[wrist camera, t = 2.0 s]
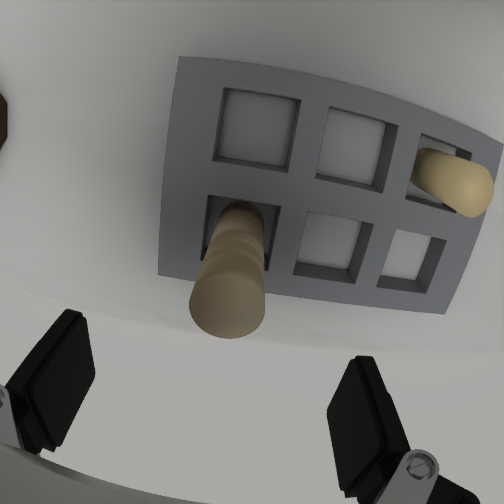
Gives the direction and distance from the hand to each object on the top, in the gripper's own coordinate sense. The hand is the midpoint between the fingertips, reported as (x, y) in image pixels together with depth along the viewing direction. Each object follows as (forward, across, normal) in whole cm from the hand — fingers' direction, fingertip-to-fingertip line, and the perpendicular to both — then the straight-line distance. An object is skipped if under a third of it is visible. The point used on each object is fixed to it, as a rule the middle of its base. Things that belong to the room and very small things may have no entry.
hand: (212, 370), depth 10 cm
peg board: (+13, -6, -4) cm, 15 cm away
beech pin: (+13, 0, -1) cm, 13 cm away
